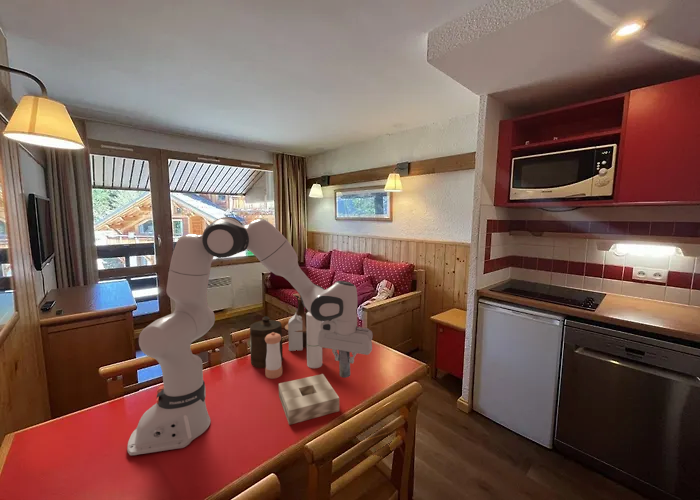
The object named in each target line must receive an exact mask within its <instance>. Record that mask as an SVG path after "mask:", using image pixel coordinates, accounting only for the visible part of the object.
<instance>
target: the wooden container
mask: <svg viewBox="0 0 700 500" xmlns="http://www.w3.org/2000/svg"><path fill="white" fill-rule="evenodd" d="M282 329H283V328H282V322H281V321H278V320H276V319H275V320H274V319H270V317H269V316H263V317H262V320H259V321H255V322H253V323H252V324H250V325H249V343H250V344H249V346H250V349H249V350H250V364H251V366H252V367H255V368H258V369H265V368H266V355H267V343H266V342H265V337H266V336H267V335H268V334H271V333H272V332H274V333H278V334H280V336H281V341H280V354H281V363H282V362H283V359H284V358H283V357H284V355H283V354H284V353H283V352H284V351H283V332H282Z"/></svg>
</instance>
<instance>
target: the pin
mask: <svg viewBox="0 0 700 500" xmlns="http://www.w3.org/2000/svg"><path fill="white" fill-rule="evenodd" d="M338 355H339V361H338V364H339V367H338V368H339V369H338V370H339V377H341V378H349V377H350V376H351V363H349V358H350V357H351V352H347V351H341V350H338Z"/></svg>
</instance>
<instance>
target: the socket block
mask: <svg viewBox="0 0 700 500" xmlns="http://www.w3.org/2000/svg"><path fill="white" fill-rule="evenodd" d="M278 397H279V400H280V403H281V406H282V409H283V412H284V415H285V417H286V420H287V424H288V425H289V426H290V425H293V424H297V423H302V422H304V421H308V420H311V419H315V418H319V417H323V416H326V415H330V414H333V413H337V412H340V397H339V395H338V393H337V392H336V391H335V389H334V388H333V387H332V384H330V382H329V381H328V379H327V378H326V376H325V374H324V373H321V374H315V375H313V376H307V377H306V376H305V377H302V378H298V379H294V380H289V381H284V382H280V383H278Z"/></svg>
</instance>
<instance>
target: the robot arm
mask: <svg viewBox="0 0 700 500" xmlns="http://www.w3.org/2000/svg"><path fill="white" fill-rule="evenodd" d="M246 250H247V251H249V252H250V253H252V254H253V255H254V256H255V257H256V259H257V260H258V261H259V262H260V263H261V264H262V265H263V266H264V268H266V269H267V270H269V272H271V273H272V274H274V275H275V276H279V277H283V278H284V279H285V280H286V281H288V282H289V283H290V285H291V286H292V288H294V289H295V291H296V292H297V294H300V296H301V300H302V303H303V306H304V309H307V310H308V312H310V314H311V315H312V316H313V317H314V318H315V319H316V320H319V321H322V324H321V325H320V328H321V330H320V331H319V335H318V345H319V346H320V347H322V349H324V348H325V349H329V350H331V352H332V354H333V356H334V361H337V362H339V352H338V351H339V350H341V351H347V352H350V353H351V355H352V356H350V358H349V363H350V364H354V363H355V357H356V355H357V354H358V355H359V354H360V355H366V356H369V355H370V353H371V352H372V350H373V341H372V340H373V331H372V330H370V329H369V328H367V327H361V326H358V314H357V308H358V292H357V291H358V289H357V287H356V285H355V284H354V283H352V282H349V281H345V280H337V281H335V282H334V284H333V285H331V286H330V287H327V288H326V289H325V288H324V287H322V286H320V285H319V284H316V283H314V282H313V281H312V280H311V279H310V278H309V277H308V276H307V275H306V273H305V272H304V271H303V270H302V269H301V267H300V266H299V262H298V261H299V258H298V254H297V251H296V250H295V248H294V247H293V246H292V244H291V243H290V242H289V240H288V239H287V238H286V237H285V236H284V235H283V234H282V232H280V231H279V229H277V228H276V226H274V225H273V224H272V223H270V222H269V221H268V220H266V219H264V218H259V219H258V218H257V219H255V220H254V219H253V220H252V221H250V223H248V224H245V225H243V223H242V222H241V221H240V220H239V219H237V218H234V217H232V216H223V217H220V218H217V219H215V220H214V221H212V222H211V223H210V224H209V225H208V226H207V227H205V229H204V230H203V233H202V234H195V233H189V234H184V235H182V236H180V237H179V238H178V240H177V241H176V244H175V246H174V249H173V251H172V256H171V259H170V265H169V269H168V277H167V283H166V291H165V292H166V295H167V296H168V297H169V298H170V299H171V300H173V301H174V304H175V305H174V310H173V312H172V313H170V314H167V315H165V316H162V317H160V318H157V319H156V320H154V321H153V322H151V323H150V324H148V325H147V326H146V327H144V328H143V329H142V330H141V331H140V333H139V335H138V345H139V349H140V350H141V352H142V353H143V354H144V355H146V356H148V357H149V358H151V359H155V360H156V361H157V363H158V364H159V366H160V368H161V371H162V372H161V373H162V381H163V382H162V383H163V385H160V386H159V387H158V388H157V390H156V403H155V404H153V405H152V406H151V407H149V408H148V409H147V410H146V411H145V412H144V413H143V414H142V415H141V417H140V419H139V420H138V423H137V426H136V428H135V429H134V430H133V431H132V432H131V435H130V437H129V439H128V441H127V453H128V455H129V456H137V455H143V454H150V453H157V452H162V451H163V452H164V451H169V450H178V449H183V448H185V447H188V445H190V444H191V442H193V440H195V439H196V438H198V437H199V436H201V435H202V434H203V433H205V432H206V431H207V430H208V428H209V426H210V425H211V417H210V415H209V413H208V409H207V405H206V396H207V395H206V394H207V393H206V392H207V391H206V383H205V380H204V375H203V374H204V373H203V361H202V359H201V358H202V357H200V356H198V355H197V354H193V352H192V349H191V345H192V343H193V342H194V341H197V340H198V339H200V338H201V337H203V336H204V335H206V334H207V333H208V332H210V331H209V330H211V328H212V327H214V324H215V321H216V316H215V315H216V314H215V313H214V310H213V309H212V308H211V307H209V305H208V296H207V295H208V287H209V286H208V285H209V279H210V275H211V274H210V273H211V267H212V262H213V259H214V258H222V259H223V258H230V257H232V256H234V255H238V254H241V253H242V252H244V251H246Z"/></svg>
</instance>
